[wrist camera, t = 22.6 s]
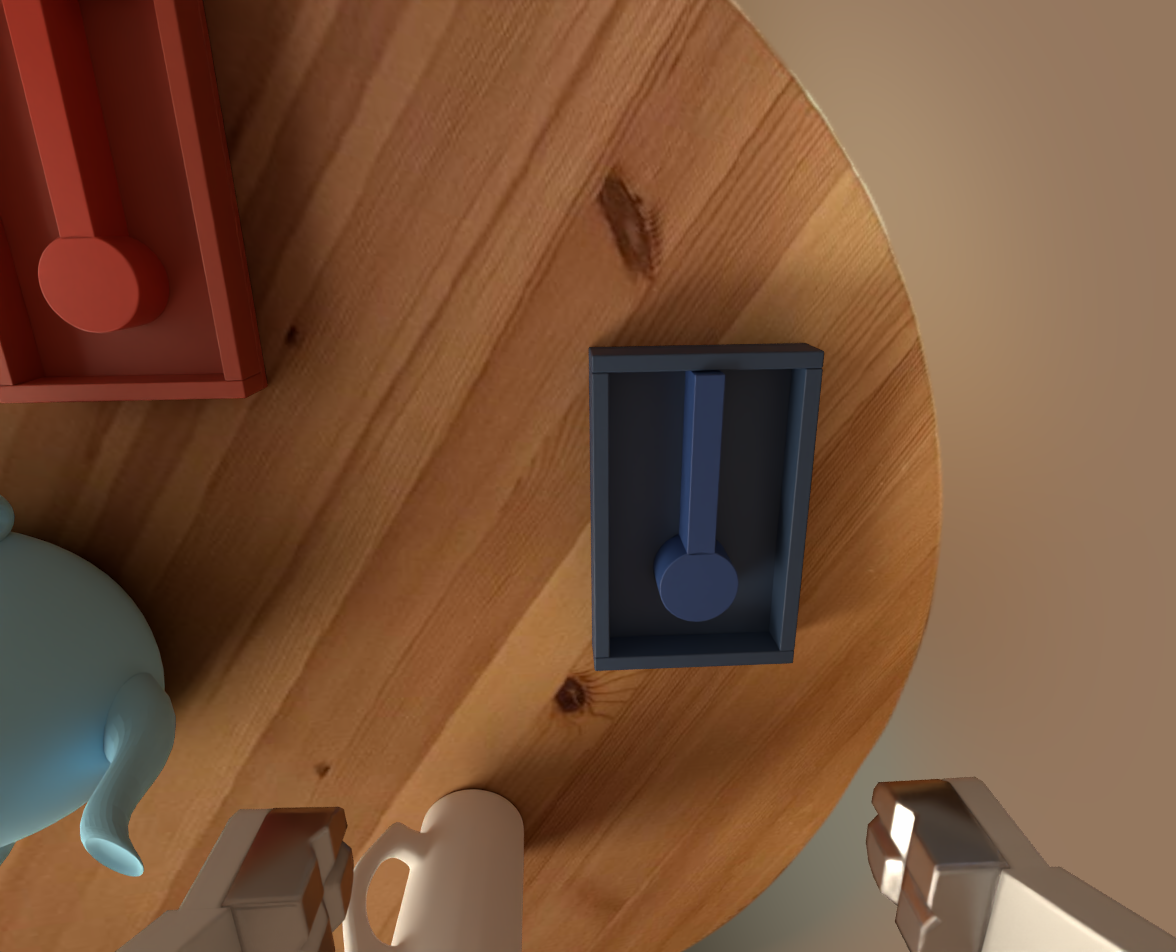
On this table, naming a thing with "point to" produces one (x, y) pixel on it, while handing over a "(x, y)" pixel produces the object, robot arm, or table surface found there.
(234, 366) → the red tray
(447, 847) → the mug
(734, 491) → the blue tray
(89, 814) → the teapot
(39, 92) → the red spoon
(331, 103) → the table surface
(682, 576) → the blue spoon
